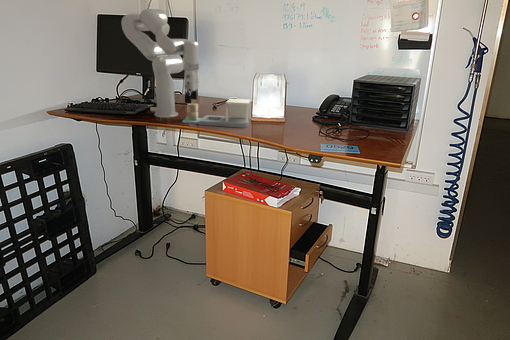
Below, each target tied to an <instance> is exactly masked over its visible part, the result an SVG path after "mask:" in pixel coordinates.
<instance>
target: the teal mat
mask: <svg viewBox="0 0 510 340" xmlns="http://www.w3.org/2000/svg"><path fill="white" fill-rule="evenodd" d="M198 118H199V119H198V120H196V121H192V120H188V118H187V117H186V118H184V119H183V120H182V121H181V124H182V123H185V124H198V125H199V120H200V119H202V118H203V117H198Z"/></svg>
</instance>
